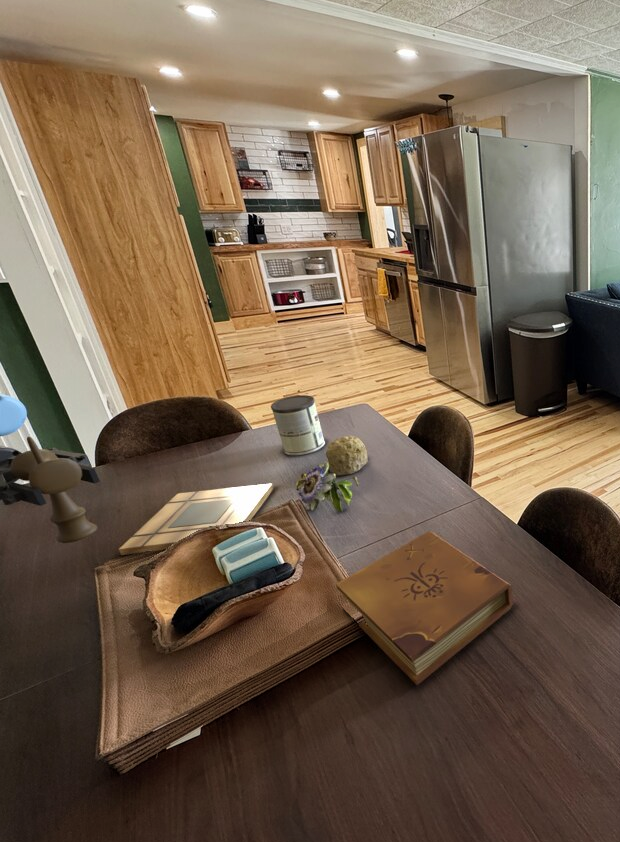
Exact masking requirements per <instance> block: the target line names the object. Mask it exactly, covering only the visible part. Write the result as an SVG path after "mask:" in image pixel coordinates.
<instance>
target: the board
mask: <svg viewBox="0 0 620 842" xmlns="http://www.w3.org/2000/svg"><path fill="white" fill-rule="evenodd" d="M274 489H275V488H274V485H273V483H266V484H265V483H264V484H257V485H255V484H253V485H246V486H236V487H235V486H234V487H226V488H217V489H207V490H195V491H189V492H179V493H176V494H175V496H173V497H172V498H171V499H170V500H169V501H168V502H166V504H165V505H164V506H163V507H161V508H160V510H158V511H157V512H156V513H155V514H154V515H153V516H152V517H150V519H149V520H147V522H146V523H144V525H142V526H141V528H139V529H138V530H137V531H136V532H135V533H134V534H132V535H131V537H130V538H129V539H127V541H126V542H124V543H123V545H122V546H120V547H119V548H118V551H119V553H120V555H121V556H125V555H132V554H133V555H134V554H141V553H142V552H143V553H146V552H145V551H149V550H153V551H152V552H157V551H158V550H159V551H164V550H163V549H166V548H168V547H169V546H171V545H172V544H174V543H176V542H178V541H179V540H181V539H183V538H185V537H187V536H189V535H190V534H192V533H194V532H196V531H198V530H201V529H203V528H206V527H209V526H216V525H225V524H235V523H239V522H243V521H249V520H250V521H252V520H253V518H254V516H255V515H256V514H257V512H258V511H259V510H260V508H261V507H262V506H263V504H264V503H265V501H266V500H267V499H268V498H269V497H270V495H271V493H273V491H274Z"/></svg>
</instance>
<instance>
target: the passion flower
mask: <svg viewBox="0 0 620 842" xmlns="http://www.w3.org/2000/svg"><path fill="white" fill-rule="evenodd" d="M329 470H330V469H329V463H328V461H325V462H324V463H321V464H317V466H315V467H314V468H311V469H308V471H306V473H305V472H302V473H301V474H300V476H299V477H298V479H297V482H296V483H295V487H296V488H295V490H296V491H297V492H298V495H299V497H300V499H301V502H303V503H304V504H305V505H306V504H307V507H306V509H305V510H306V511H310V510H311V511H312V512H313V511H315V510H316V509H317V508H318V505H319V502H324V501H325V500H326V499H327V500H328V501H329V502H330V503H332V506H333V508H334V510H336V511H338V512H339V511H340V512H343V500H342V498H341V495H340V493H341V494H342V496H343V499H344V501H345V502H346V505H347V506H350V503H351V502H352V498H353V492H352V491H353V490H352V489H351V486H353V484H352V481H349V480H351V479H353V480H354V482H355V484H356V486H357V487H358V486H360V483H359V480H358V478H357V475H354V476H351V477H348V478H346V479H344V480H339V481H338V482H336V480H335V479H336V478H337V477H336V476H337V475H335V474H334V473H329V472H328V471H329ZM338 490H339V492H340V493H339V492H338Z"/></svg>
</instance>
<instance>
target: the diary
mask: <svg viewBox="0 0 620 842" xmlns="http://www.w3.org/2000/svg"><path fill="white" fill-rule="evenodd" d="M335 587H336V589H337V590H338V591H339V592H340V593H341V594H342V595H343V597H344V599H345V598H346V600H348V602H349V603H350V604H351V605H352V606H353V607H355V609H357V611H359V612H360V613H361V614H362V615H363V617H364V619H365V621H366V623H367V625H368V626H367V625H366V624H365V622H364V623H360V624H359V625H358V626H359V628H360V629H361V630H363V632H364V633H366V635H367V636H369V638H370V639H371V640H372V641H373V642H374V643H375V644H376V645H377V646H378V647H379V648H380V649H381V650H382V651H383V653H385V654H386V655H387V656H388V657H389V658H390V659H391V660H392V661H393V663H395V665H396V666H398V668H399V669H400V670H401V671H402V672H403V673H404V674H405V675H406V676H407V677H408V678H409V679H410V680H411V681H412V682H413V683H414V684H415V685H416V686H419V684H421V683H422V682H424V681H425V680H426V679H427V678H428V677H430V675H432V674H433V673H435V671H436V670H438V669H439V668H440V667H442V666H443V665H444V664H445V663H447V662H448V661H449V660H451V658H453V657H454V656H455V655H456V654H457V653H459V652H460V651H462V649H464V648H465V647H466V646H467V645H468V644H470V643H471V642H473V640H475V639H476V638H477V637H478V636H479V635H481V634H482V633H483V632H484V631H486V630H487V629H488V628H489V627H491V626H492V625H493V624H495V622H497V621H498V620H499V619H500V618H502V617H503V615H505V614H506V613H507V612H509V611H510V610H511V608H512V606H513V604H514V594H513V586H512V585H511V584H510V583H509V582H507V581H506V580H504V579H503V578H501V577H500V576H498V575H497V574H495V573H494V572H492V571H491V570H489V568H487V567H485V566H484V565H482V564H481V563H479V562H478V561H476V560H474V559H473V558H472V557H471V556H469V555H467V554H466V553H464V552H463V551H461V550H460V549H459V548H457V547H455V546H454V545H452V544H450V542H448V541H447V540H445V539H444V538H442V537H440V536H439V535H437V534H436V533H435V532H433V531H430V530H428V531H426V532H425V533H423V534H421V535H419V536H418V537H415V538H414V539H412V540H411V541H409V542H407V543H405V544H403V545H402V546H400V547H398V548H397V549H395V550H393V551H391V552H389V553H387V554H386V555H384V556H382V557H380V558H379V559H377V560H375V561H374V562H372V563H370V564H368V565H366V566H365V567H363V568H361V569H359V570H358V571H356V572H354V573H353V574H351V575H348V576H347V577H345V578H343V579H342V580H340V581H337V582H336V583H335ZM346 600H345V601H346Z"/></svg>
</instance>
